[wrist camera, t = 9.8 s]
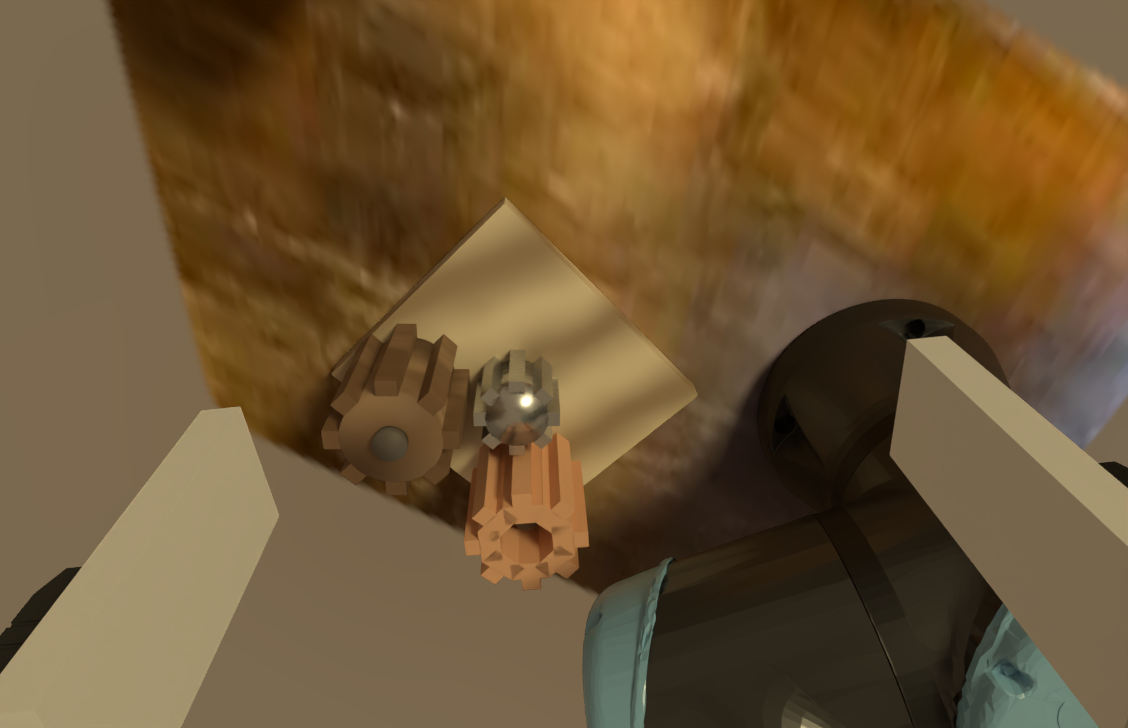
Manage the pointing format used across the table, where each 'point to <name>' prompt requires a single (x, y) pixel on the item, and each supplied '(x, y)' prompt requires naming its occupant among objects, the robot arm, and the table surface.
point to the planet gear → (527, 513)
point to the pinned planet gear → (399, 410)
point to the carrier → (540, 339)
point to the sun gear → (517, 403)
